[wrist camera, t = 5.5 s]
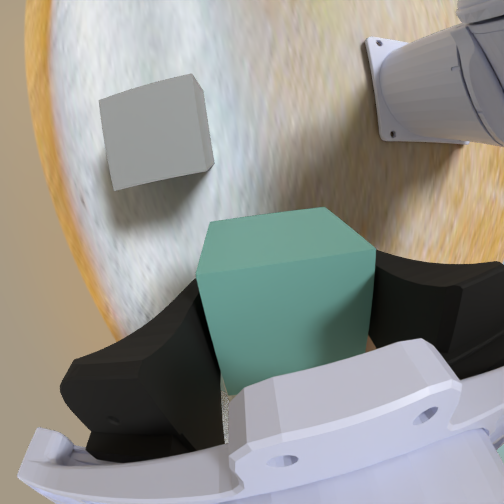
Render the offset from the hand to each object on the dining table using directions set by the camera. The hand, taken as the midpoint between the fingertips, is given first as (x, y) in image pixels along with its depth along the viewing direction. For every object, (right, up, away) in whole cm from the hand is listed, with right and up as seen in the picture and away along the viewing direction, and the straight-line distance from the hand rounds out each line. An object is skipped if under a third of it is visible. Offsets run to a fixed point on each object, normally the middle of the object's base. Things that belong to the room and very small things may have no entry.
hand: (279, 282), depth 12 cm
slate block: (-6, +9, +5) cm, 12 cm away
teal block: (0, +1, +1) cm, 2 cm away
